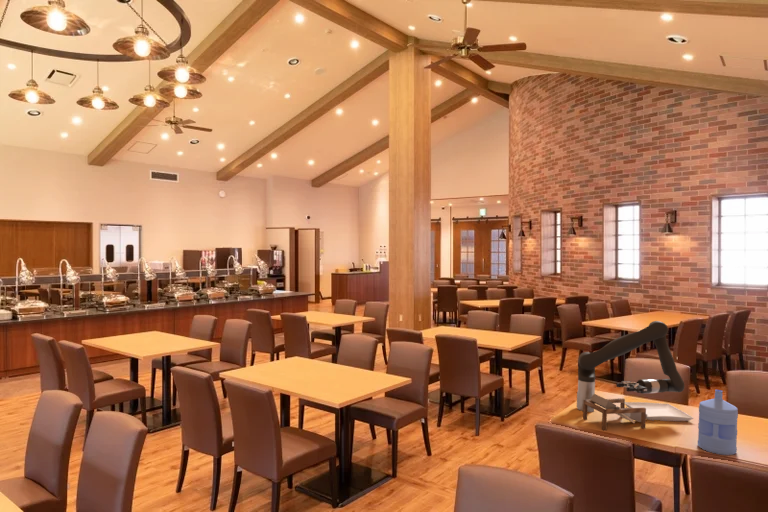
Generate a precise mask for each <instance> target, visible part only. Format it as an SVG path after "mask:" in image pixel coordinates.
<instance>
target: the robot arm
mask: <svg viewBox="0 0 768 512" xmlns="http://www.w3.org/2000/svg"><path fill="white" fill-rule="evenodd" d="M668 333H669V326H668V325H667V324H665V322H663V321H660V320H654V321H651V322H650V323H649V325H648V326H646V327H645V328H642V329H640V330H638V331H635V332H631V333H628V334H624V335H622V336H620V337H618V338H615V339H614V340H611V341H610V342H608V343H607V344H605V345H604V346H602V348H600V349H598V350H595V351H592V352H589V351H584V352H581V353H580V354H579V356H578V359H577V360H578V361H577V363H578V365H577V368H578V369H577V379H578V380H577V392H576V408H577V410H578V411H582V412H583V405H584V400H591V398H592V396H593V395H594V394H596V367H598V366H600V365H602V364H603V363H606V362H607V361H610V360H612V359H615V358H619V357H620V356H623V355H625V354H627V353H628V354H629V352H632V351H633V350H636V349H637V348H640V347H641V346H642V345H644V344H647V343H650V342H652V341H653V343H654V345H655V348H656V351H657V352H656V353H657V355H658V358H659V362H660V366H661V369H662V373H663V374H664V375H665V376H667V377H668V378H662V379H656V378H655V379H653V378H648V379H647V378H644V379H640V378H639V379H638V380H637V381H636V382H635V381H632V380H631V381H630V380H629V381H628V380H622V381H621V382H616V384H615V385H616V386H615V387H617V388H626V391H627V392H634V393H638V394H639V393H640V394H643V395H644V394H657V393H666V392H669V393H682V392H683V391H684V390H685V382H684V379H683V378H682V375H681V374H680V373H679V371H678V369H677V366H676V362H675V359H674V357H673V353H672V351H671V349H670V347H669V344H668V341H667V340H668V339H667V334H668ZM594 411H595V409H593V408H591V407H589V406H588V407H587V413H588V412H589V413H593V412H594Z"/></svg>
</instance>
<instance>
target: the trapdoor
mask: <svg viewBox="0 0 768 512" xmlns="http://www.w3.org/2000/svg"><path fill="white" fill-rule="evenodd" d="M607 399H608V398H604V397H603V396H600V395H598V394H596V393H595V394H594V395H593V396H592V398H591V401H593V402H594V403H596V405H598V406H600V407H602V408H604V409H615V407H617V405H616V403H612V402H610V401H609V400H607ZM616 415H617V416H619V417H620V416H621V417H623V418H622V419H625V420H627V421H629V422H631V423H633V424H635V423H636V421H635V420H632V419H631V418H629V417H628V416H626V415H625V414H623V413H619V414H616ZM621 417H620V418H621Z"/></svg>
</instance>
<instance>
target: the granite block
mask: <svg viewBox="0 0 768 512" xmlns="http://www.w3.org/2000/svg"><path fill="white" fill-rule="evenodd" d="M625 408H628V407H627V406H626V407H625ZM624 414H625V415H626V416H628V417H629V418H631V419H632V420H634V421H635V422H639V423H641V413H624ZM646 418H647V414H646Z"/></svg>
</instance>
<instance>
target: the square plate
mask: <svg viewBox="0 0 768 512" xmlns="http://www.w3.org/2000/svg"><path fill="white" fill-rule="evenodd" d="M625 406H626V407H628V408H646V414H647V418H646V421H647V420H649V421H654V420H660V421H659V422H687V421H688V422H689V421H692V420H693V419H694V418H695V417H694V416H692V415H690V414H688V413H687V412H685V411H683V410H682V409H679V408H677V407H676V406H674V405H672V404H670V403H662V402H660V403H659V402H648V401H647V402H646V401H645V402H644V401H643V402H641V401H636V402H635V401H625Z"/></svg>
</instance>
